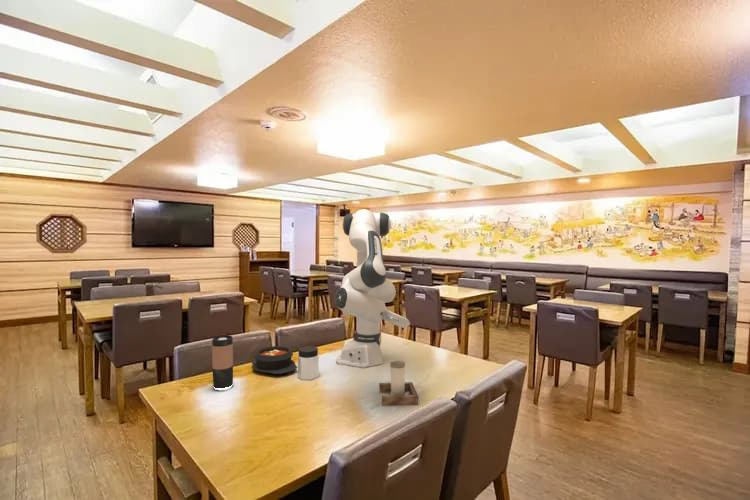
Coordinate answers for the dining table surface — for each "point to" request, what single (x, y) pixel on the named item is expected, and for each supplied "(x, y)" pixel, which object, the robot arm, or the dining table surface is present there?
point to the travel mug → (222, 361)
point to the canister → (397, 378)
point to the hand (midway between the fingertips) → (400, 320)
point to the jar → (308, 363)
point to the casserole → (274, 360)
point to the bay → (399, 399)
